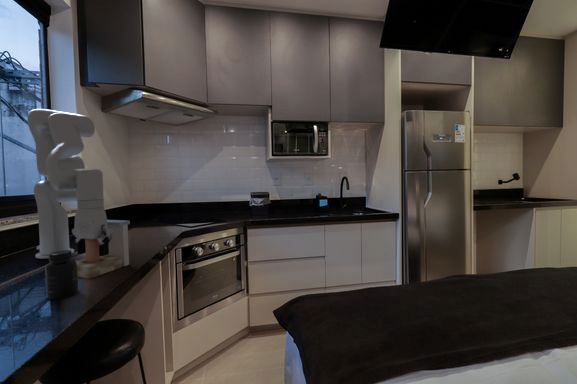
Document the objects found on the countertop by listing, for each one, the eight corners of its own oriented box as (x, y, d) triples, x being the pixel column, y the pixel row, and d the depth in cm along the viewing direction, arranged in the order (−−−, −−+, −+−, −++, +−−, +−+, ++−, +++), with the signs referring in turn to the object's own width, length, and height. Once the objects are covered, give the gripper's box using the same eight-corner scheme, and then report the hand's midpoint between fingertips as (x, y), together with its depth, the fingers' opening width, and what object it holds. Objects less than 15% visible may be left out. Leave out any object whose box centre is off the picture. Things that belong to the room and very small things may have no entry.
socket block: (63, 275, 94) (62, 264, 94) (96, 264, 106) (96, 255, 105) (90, 278, 91) (90, 267, 90) (122, 266, 102) (121, 257, 102)
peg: (83, 272, 97) (82, 237, 96) (94, 268, 101) (93, 235, 100) (92, 273, 96) (91, 238, 95) (103, 269, 99) (101, 235, 99)
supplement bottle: (67, 289, 82) (64, 248, 81) (84, 291, 80) (82, 249, 79) (40, 298, 75) (37, 254, 75) (58, 301, 74) (56, 256, 73)
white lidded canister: (95, 264, 105) (93, 221, 104) (106, 261, 109) (104, 219, 109) (121, 267, 102) (119, 222, 101) (131, 263, 106) (129, 220, 105)
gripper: (60, 205, 96) (63, 255, 97) (100, 206, 91) (102, 259, 92) (82, 203, 103) (84, 250, 104) (120, 204, 98) (122, 253, 99)
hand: (93, 254), depth 98 cm, fingers open, 9 cm apart
